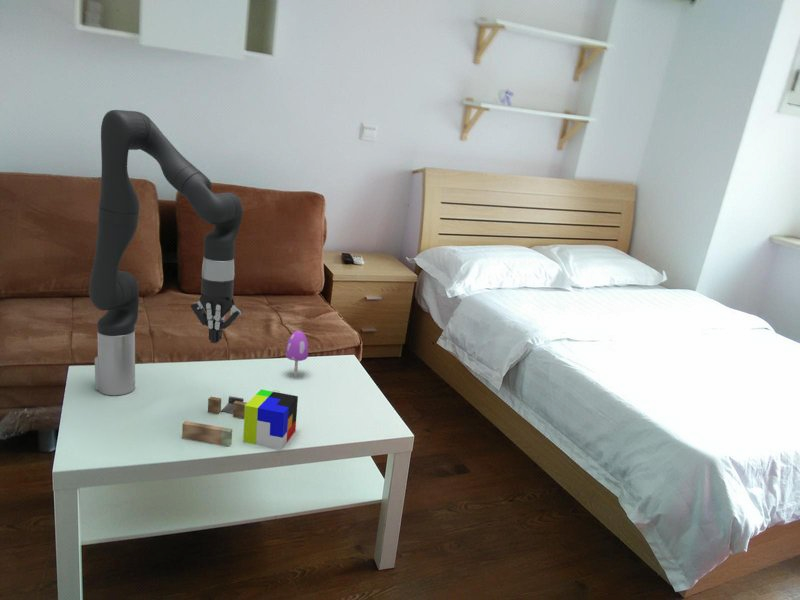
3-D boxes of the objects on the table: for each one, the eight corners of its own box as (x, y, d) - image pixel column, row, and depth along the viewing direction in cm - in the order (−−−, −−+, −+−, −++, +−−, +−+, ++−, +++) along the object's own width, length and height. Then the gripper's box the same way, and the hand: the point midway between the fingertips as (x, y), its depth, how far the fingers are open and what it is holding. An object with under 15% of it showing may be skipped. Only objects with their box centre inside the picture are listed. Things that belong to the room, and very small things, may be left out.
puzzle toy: (281, 449, 152) (284, 413, 150) (243, 442, 154) (244, 405, 151) (295, 431, 162) (297, 396, 159) (259, 424, 163) (260, 389, 161)
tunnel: (182, 438, 152) (182, 423, 151) (219, 401, 173) (219, 387, 172) (229, 446, 151) (229, 431, 150) (260, 408, 172) (261, 394, 171)
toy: (285, 371, 197) (288, 326, 193) (306, 372, 198) (309, 328, 194) (283, 379, 191) (286, 334, 187) (305, 381, 192) (309, 335, 188)
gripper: (184, 274, 148) (183, 342, 153) (237, 283, 147) (234, 351, 152) (199, 268, 155) (197, 332, 160) (249, 276, 154) (246, 341, 159)
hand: (215, 342), depth 156 cm, fingers closed
